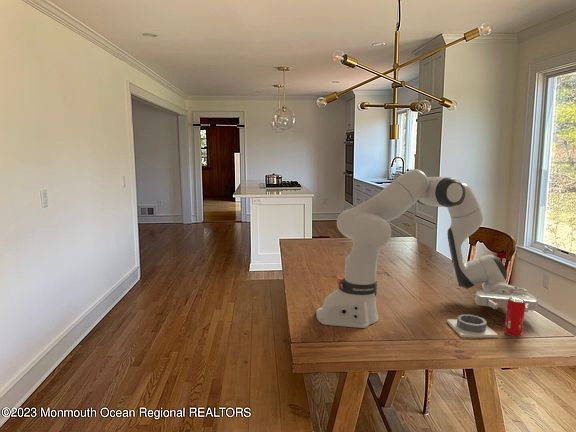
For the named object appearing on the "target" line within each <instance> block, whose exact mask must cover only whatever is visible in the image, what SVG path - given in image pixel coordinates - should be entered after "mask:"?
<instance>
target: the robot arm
mask: <svg viewBox="0 0 576 432" xmlns="http://www.w3.org/2000/svg"><path fill="white" fill-rule="evenodd" d="M415 203H419V204H421V205H427V206H432V207H436V208H437V207H438V208H439V207H441V208H442V207H444V208H447V212H448V214H449V217H450V219H451V220H450V223H451V224H450V226H449V228H448V229H447V233H446V235H447V241H448V247H449V252H450V256H451V262H452V263H451V264H452V267H453V268H452V269H453V273H452V274H453V279H454V280H455V283H456V284H457V285H458V287H460V288H463V289H465V290H466V289H468V290H469V289H470V288H473V287H475V286H477V285H481V286H482V289H483V290H476V292H472V297H474V298H475V299H474V301H475V304H476V305H477V306H482V307H490V308H492V309H493V310H499V308H501V309H507V304H508V300H509V298H510V297H517V298H521V299H523V300H525V312H524V313H528V312H529V311H533V312H534V311H537V310H538V305H539V302H538V300H537V298H536V297H535V296H534V295H533V294H530V293H529V292H528V289H525V288H522V287H517V286H514V285H511V284H508V283H507V281H506V280H507V278H508V271H507V270H506V266H505V265H504V263H503V262H502V260H501V259H500V258H499V257H498V256H496V255H495V254H491V253H489V254H486V255H483V256H480V257H477V258H475V259H472V260H471V259H470V260H468V261H464V258H463V252H462V246H463V243H464V242H465V241H466V240H467V239H468V238H469V237H470V236H471V235H473V234H474V233H475V232H477V230H478V229H479V228H480V227H481V226H482V223H483V220H484V216H483V212H482V208H481V206H480V203H479V201H478V198H477V197H476V194H475V193H474V191H473V190H472V189H471V186H469V184H467V183H465V182H461V181H460V180H458V179H456V178H454V177H449V176H448V177H445V176H427V174H426V173H425V172H423V171H422V170H420V169H416V168H414V169H410V170H408V171H406V172H404V173H402V174H401V175H399V176H398V177H397V178H395V179H394V180H393V181H392V182H390V183H389V184H388V185H387V186H386V187H384V188H383V189H382V190H380V191H379V192H378V193H377V194H376V195H374V196H372V197H370V198H369V199H367V200H365V201H363V202H361V203H359V204H358V205H356V206H354V207H352V208H351V207H350V208H347V209H345V210H343V211H342V212H340V213H339V214H338V216H337V218H336V227H337V229H338V231H339V233H341V234H342V235H343V236H344V237H345V238H348V239H350V240H352V242H353V244H352V248H351V250H350V253H349V254H348V255H347V256H346V257H345V260H344V261H345V263H344V264H345V266H344V278H342V277H339V276H338V277H337V278H336V283H337V284H338V288H337V289H336V290H334V291H332V292H331V293H329V294H328V295H326V296H325V298H324V300H323V303H322V306H321V307H319V308H317V309H316V313H315V316H316V319H317V321H318V322H319V323H321V325H325V326H334V327H335V326H336V327H337V326H338V327H349V328H356V329H357V328H358V329H359V328H360V329H366V328H368V327H369V326H370V325H373V324H375V323H377V322H378V321H379V314H378V310H377V309H378V308H377V302H376V301H377V299H376V297H377V293H378V281H377V269H378V268H377V266H378V260H379V259H378V258H379V256H380V253H381V250H382V248H383V247H384V246H386V245H387V243H388V242H389V241H390V239H391V237H392V227H391V224H390V223H389V222H390V221H394V220H397V219H399V218H400V217H401V216H402V215H403V214H404V213H405V212H406V211H407V210H409V209H410V208H411V207H412V206H413V205H415Z"/></svg>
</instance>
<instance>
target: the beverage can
mask: <svg viewBox="0 0 576 432" xmlns="http://www.w3.org/2000/svg"><path fill="white" fill-rule="evenodd" d="M525 313H526V312H525V300H523V299H521V298H517V297H510V298H509V300H508V304H507V308H506V313H505V323H504V330H505V333H506V334H507V335H509V336H511V337H521V335H522V333H523V328H524V321H525V320H524V319H525Z"/></svg>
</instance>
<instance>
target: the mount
mask: <svg viewBox="0 0 576 432" xmlns="http://www.w3.org/2000/svg"><path fill="white" fill-rule="evenodd" d="M446 322H447V324H448V325H449V326H450V328H452V329H453V330H454V331H455V332H456V334H458V336H459V337H461V338H498V333H496V331H494V330H493V329H492V328H491V327H489V325H488V324H487V322H488V321H487V320H486V319H485V318H484V317H480V316H479V315H474V314H460V315H457V319H454V318H453V319H452V318H451V319H448V318H447V319H446Z"/></svg>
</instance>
